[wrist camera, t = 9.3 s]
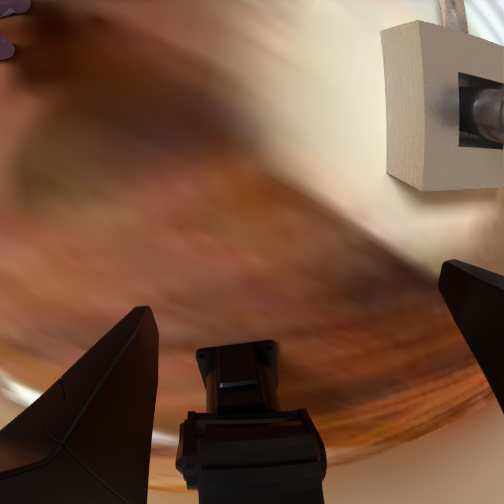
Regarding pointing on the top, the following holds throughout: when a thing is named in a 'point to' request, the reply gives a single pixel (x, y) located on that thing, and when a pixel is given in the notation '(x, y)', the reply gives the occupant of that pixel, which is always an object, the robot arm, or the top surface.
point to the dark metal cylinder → (482, 112)
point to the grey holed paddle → (439, 103)
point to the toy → (5, 3)
